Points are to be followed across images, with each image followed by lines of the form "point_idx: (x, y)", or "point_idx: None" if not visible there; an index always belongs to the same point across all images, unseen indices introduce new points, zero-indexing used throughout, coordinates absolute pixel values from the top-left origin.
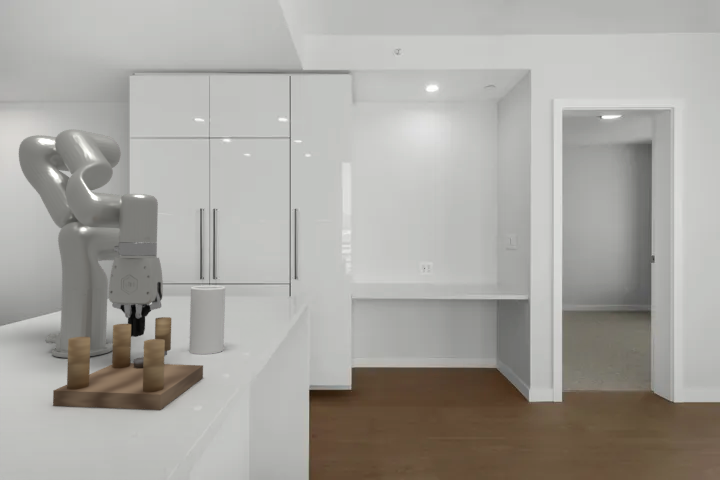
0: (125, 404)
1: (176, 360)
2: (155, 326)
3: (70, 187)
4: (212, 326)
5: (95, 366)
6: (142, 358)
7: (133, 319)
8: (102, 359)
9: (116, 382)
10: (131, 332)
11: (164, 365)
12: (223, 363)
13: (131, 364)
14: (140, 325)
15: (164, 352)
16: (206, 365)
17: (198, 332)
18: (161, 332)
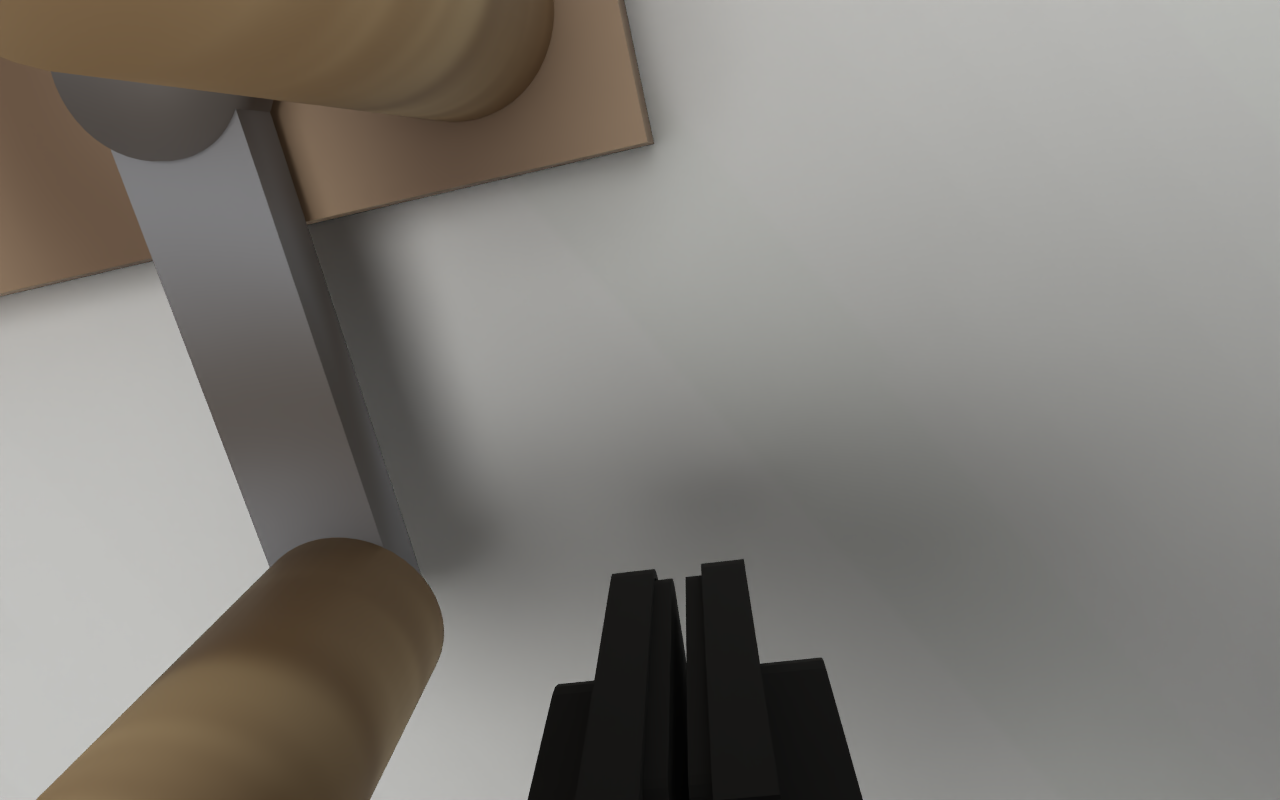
0: None
1: (480, 764)
2: (234, 793)
3: None
4: None
5: (1114, 348)
6: (159, 105)
7: (633, 781)
8: (1234, 597)
9: None
10: (695, 604)
11: (9, 224)
12: (25, 791)
13: (391, 124)
14: (543, 759)
15: (276, 560)
16: (105, 699)
17: None
18: (145, 704)
